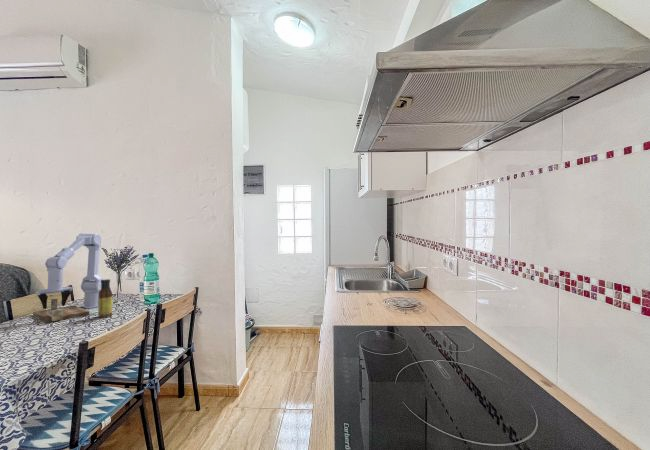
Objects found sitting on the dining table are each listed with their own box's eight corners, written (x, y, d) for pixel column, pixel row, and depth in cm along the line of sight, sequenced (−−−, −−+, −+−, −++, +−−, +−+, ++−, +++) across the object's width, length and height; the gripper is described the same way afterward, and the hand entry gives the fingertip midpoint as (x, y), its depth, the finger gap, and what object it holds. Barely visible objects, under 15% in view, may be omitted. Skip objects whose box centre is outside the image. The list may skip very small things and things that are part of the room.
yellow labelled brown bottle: (115, 315, 171) (116, 278, 171) (106, 318, 164) (107, 280, 165) (104, 314, 171) (105, 278, 171) (94, 317, 165) (96, 280, 165)
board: (74, 309, 180) (74, 305, 180) (89, 315, 169) (89, 311, 169) (33, 315, 165) (33, 311, 165) (46, 322, 154) (46, 318, 154)
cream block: (56, 316, 163) (56, 297, 164) (62, 319, 158) (63, 300, 159) (46, 318, 160) (47, 299, 160) (52, 321, 155) (53, 301, 155)
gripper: (68, 277, 168) (67, 303, 168) (33, 281, 156) (32, 308, 155) (74, 279, 165) (73, 305, 165) (39, 283, 152) (38, 310, 152)
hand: (54, 307), depth 160 cm, fingers open, 7 cm apart
